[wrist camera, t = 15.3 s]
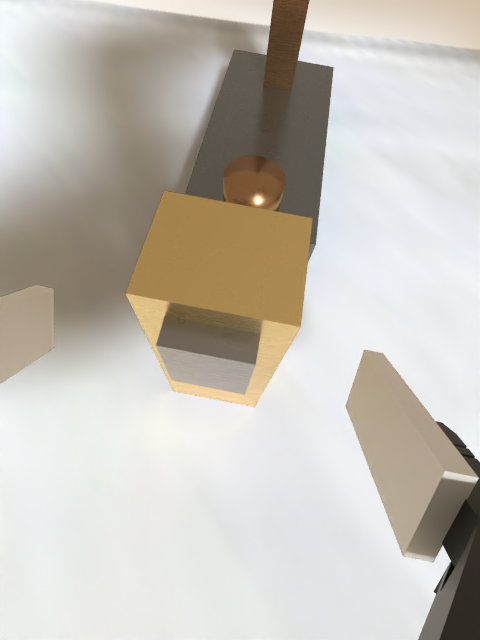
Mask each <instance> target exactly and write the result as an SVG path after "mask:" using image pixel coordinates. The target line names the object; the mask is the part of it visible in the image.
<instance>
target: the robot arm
mask: <svg viewBox="0 0 480 640" xmlns="http://www.w3.org/2000/svg"><path fill="white" fill-rule="evenodd" d="M53 348H54V288H50V287H45V286H40V285H34V286H31V287H28V288H25V289H22V290H19V291H16V292H14V293H11V294H8V295H5V296H2V297H0V384H1V383H2V382H4V381H5V380H7V379H8V378H10V377H11V376H13V375H14V374H16V373H17V372H19V371H20V370H22V369H23V368H25V367H26V366H28V365H29V364H31V363H32V362H34V361H35V360H37V359H38V358H40V357H41V356H43V355H44V354H46V353H47V352H49V351H50V350H52V349H53ZM346 409H347V411H348V414H349V417H350V419H351V422H352V424H353V427H354V430H355V432H356V435H357V437H358V440H359V443H360V445H361V448H362V450H363V453H364V456H365V458H366V461H367V464H368V466H369V469H370V471H371V474H372V477H373V479H374V482H375V484H376V487H377V490H378V492H379V495H380V497H381V500H382V503H383V505H384V508H385V510H386V513H387V516H388V518H389V521H390V523H391V526H392V529H393V531H394V534H395V536H396V539H397V542H398V544H399V547H400V549H401V552H402V555H403V556H405V557H410V558H415V559H419V560H424V561H429V562H434V560H435V558H436V556H437V555H438V553H439V551H440V549H441V547H442V545H443V546H444V548H445V550H446V552H447V554H448V556H449V558H450V560H451V562H450V564H449V566H448V567H447V569H446V571H445V573H444V574H443V576H442V578H441V580H440V582H439V583H438V585H437V587H436V589H435V590H434V592H435V593H436V596H435V599H434V601H433V604H432V606H431V609H430V611H429V614H428V616H427V619H426V621H425V624H424V626H423V629H422V631H421V634H420V637H419V639H418V640H480V462H479V461H478V460H477V459H475V458H474V457H475V456H474V455H473V454H472V453H471V451H470V450H469V449H467V448H466V445H465V444H464V443H463V442H462V440H461V439H460V438H459V437H458V436H457V434H455V433H454V432H453V431H452V430H450V429H449V428H448V427H447V426H445V425H444V424H443V423H441V422H436V421H435V420H434V419H433V418H432V416H431V415H430V414H429V413H428V411H427V410H426V409H425V407H424V406H423V405H422V403H421V402H420V401H419V400H418V398H417V397H416V396H415V394H414V393H413V392H412V390H411V389H410V388H409V387H408V385H407V384H406V383H405V381H404V380H403V379H402V378H401V376H400V375H399V374H398V372H397V371H396V370H395V368H394V367H393V366H392V365H391V363H390V362H389V361H388V359H387V358H386V357H385V355H384V354H383V353H378V352H373V351H368V350H364V353H363V356H362V359H361V362H360V365H359V367H358V370H357V373H356V376H355V379H354V382H353V385H352V388H351V391H350V394H349V397H348V400H347V403H346Z"/></svg>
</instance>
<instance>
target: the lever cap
mask: <svg viewBox="0 0 480 640" xmlns="http://www.w3.org/2000/svg"><path fill="white" fill-rule="evenodd" d="M312 219H313V218H309V217H303V216H298V215H292V214H287V213H282V212H276V211H271V210H266V209H260V208H255V207H250V206H244V205H239V204H234V203H228V202H223V201H217V200H212V199H207V198H201V197H196V196H191V195H185V194H180V193H175V192H169V191H164V192H163V195H162V198H161V200H160V203H159V205H158V208H157V211H156V213H155V216H154V219H153V221H152V224H151V227H150V229H149V232H148V235H147V237H146V240H145V242H144V245H143V248H142V250H141V253H140V256H139V258H138V261H137V264H136V266H135V269H134V272H133V274H132V277H131V279H130V282H129V285H128V287H127V290H126V293H125V294H126V296H127V298H128V300H129V302H130V304H131V306H132V308H133V310H134V312H135V314H136V316H137V318H138V320H139V322H140V324H141V326H142V328H143V330H144V332H145V334H146V337H147V339H148V341H149V343H150V345H151V347H152V349H153V351H154V353H155V355H156V357H157V359H158V361H159V363H160V365H161V367H162V369H163V371H164V373H165V375H166V377H167V379H168V381H169V383H170V385H171V387H172V389H173V391H175V392H180V393H185V394H191V395H196V396H201V397H206V398H211V399H216V400H221V401H226V402H231V403H237V404H242V405H247V406H252V407H255V405H256V404H257V402H258V400H259V398H260V397H261V395H262V393H263V391H264V390H265V388H266V386H267V384H268V383H269V381H270V379H271V378H272V376H273V374H274V372H275V371H276V369H277V367H278V365H279V364H280V362H281V360H282V358H283V357H284V355H285V353H286V351H287V350H288V348H289V346H290V344H291V343H292V341H293V339H294V337H295V336H296V334H297V332H298V330H299V329H300V327H301V318H302V309H303V300H304V291H305V282H306V273H307V264H308V255H309V246H310V237H311V228H312Z"/></svg>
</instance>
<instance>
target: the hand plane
mask: <svg viewBox="0 0 480 640" xmlns="http://www.w3.org/2000/svg"><path fill="white" fill-rule="evenodd" d="M308 4H309V0H274V1H273V10H272V18H271V26H270V34H269V42H268V50H267V55H262V54H257V53H251V52H246V51H240V50H235V49H234V52H233V55H232V58H231V60H230V63H229V66H228V69H227V72H226V75H225V78H224V81H223V84H222V87H221V90H220V93H219V96H218V99H217V102H216V105H215V108H214V111H213V114H212V117H211V120H210V122H209V125H208V128H207V131H206V134H205V137H204V140H203V143H202V146H201V149H200V152H199V155H198V158H197V161H196V164H195V167H194V170H193V173H192V176H191V179H190V182H189V184H188V187H187V190H186V193H185V195H191V196H196V197H201V198H207V199H212V200H217V201H223V202H228V203H234V204H239V205H244V206H250V207H255V208H260V209H266V210H271V211H276V212H282V213H287V214H292V215H298V216H303V217H309V218H313V219H312V228H311V237H310V246H309V255H308V261H309V259H310V257H311V254H312V252H313V250H314V247H315V245H316V236H317V226H318V216H319V206H320V197H321V187H322V177H323V167H324V157H325V147H326V137H327V127H328V117H329V107H330V97H331V87H332V77H333V67H329V66H324V65H318V64H313V63H307V62H302V61H297V60H298V55H299V50H300V45H301V40H302V35H303V30H304V24H305V19H306V14H307V9H308Z"/></svg>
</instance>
